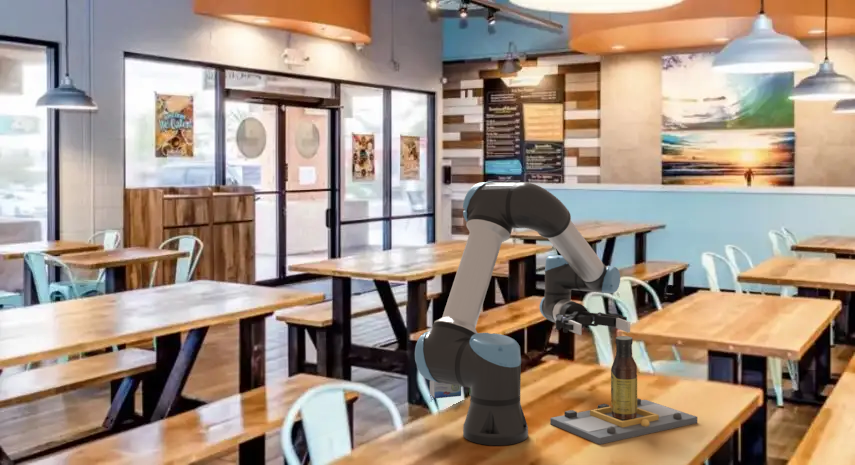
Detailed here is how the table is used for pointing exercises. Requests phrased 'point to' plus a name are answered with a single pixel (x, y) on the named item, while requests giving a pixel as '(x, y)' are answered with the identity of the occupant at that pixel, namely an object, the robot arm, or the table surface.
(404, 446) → the table surface
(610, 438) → the grey fixture plate
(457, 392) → the medicine box
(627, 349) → the sauce bottle
